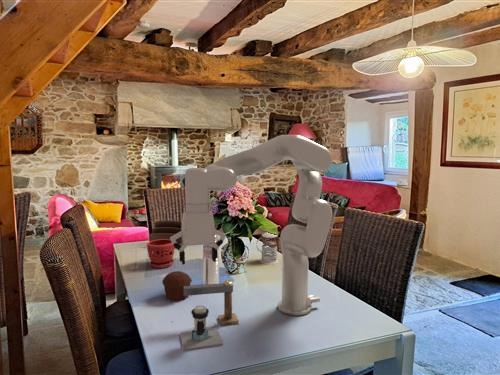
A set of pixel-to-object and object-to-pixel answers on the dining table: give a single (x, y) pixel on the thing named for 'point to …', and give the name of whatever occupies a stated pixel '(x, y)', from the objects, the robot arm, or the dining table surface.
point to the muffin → (176, 285)
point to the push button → (200, 323)
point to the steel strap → (209, 288)
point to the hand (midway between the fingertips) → (198, 261)
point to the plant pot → (161, 253)
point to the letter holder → (166, 230)
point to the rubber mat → (209, 342)
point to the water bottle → (210, 265)
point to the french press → (269, 249)
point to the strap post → (228, 311)
